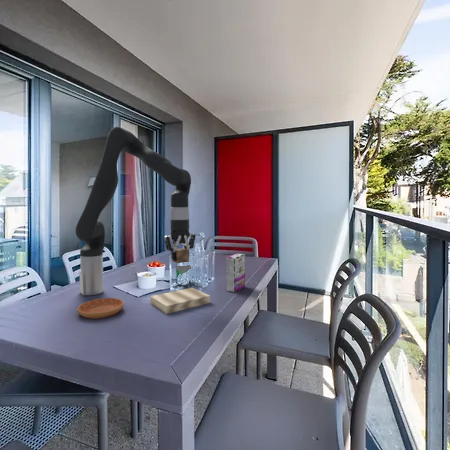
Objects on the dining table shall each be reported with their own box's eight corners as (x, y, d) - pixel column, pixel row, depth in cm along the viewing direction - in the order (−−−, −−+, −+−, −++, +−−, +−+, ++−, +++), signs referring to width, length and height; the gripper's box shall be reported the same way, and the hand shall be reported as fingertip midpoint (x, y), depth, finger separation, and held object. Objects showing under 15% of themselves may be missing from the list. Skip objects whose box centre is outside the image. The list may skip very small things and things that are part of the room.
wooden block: (166, 313, 107) (166, 306, 107) (150, 303, 118) (150, 296, 117) (210, 302, 119) (210, 295, 119) (192, 294, 130) (192, 287, 130)
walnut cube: (178, 263, 114) (178, 250, 114) (172, 261, 118) (171, 249, 118) (189, 261, 117) (188, 249, 117) (182, 259, 121) (182, 248, 121)
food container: (187, 287, 141) (187, 267, 140) (175, 286, 142) (175, 266, 142) (195, 280, 153) (195, 262, 152) (184, 279, 154) (184, 261, 154)
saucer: (77, 324, 97) (77, 315, 97) (77, 308, 112) (77, 301, 111) (127, 316, 105) (126, 308, 105) (120, 302, 119) (120, 295, 119)
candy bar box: (236, 285, 145) (236, 253, 144) (245, 286, 143) (245, 254, 141) (225, 291, 136) (225, 256, 134) (234, 292, 133) (235, 257, 132)
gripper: (190, 217, 124) (190, 256, 125) (159, 218, 115) (160, 260, 116) (199, 218, 118) (200, 259, 119) (168, 219, 109) (169, 263, 110)
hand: (180, 259), depth 117 cm, fingers closed on walnut cube, 5 cm apart
